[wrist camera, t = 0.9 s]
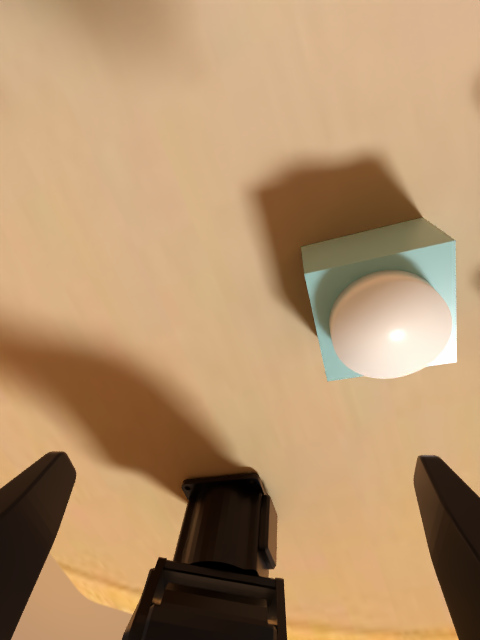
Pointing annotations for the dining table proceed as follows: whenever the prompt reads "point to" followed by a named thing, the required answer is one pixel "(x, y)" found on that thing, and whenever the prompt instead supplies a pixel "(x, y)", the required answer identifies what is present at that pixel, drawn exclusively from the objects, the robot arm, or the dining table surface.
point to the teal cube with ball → (384, 300)
